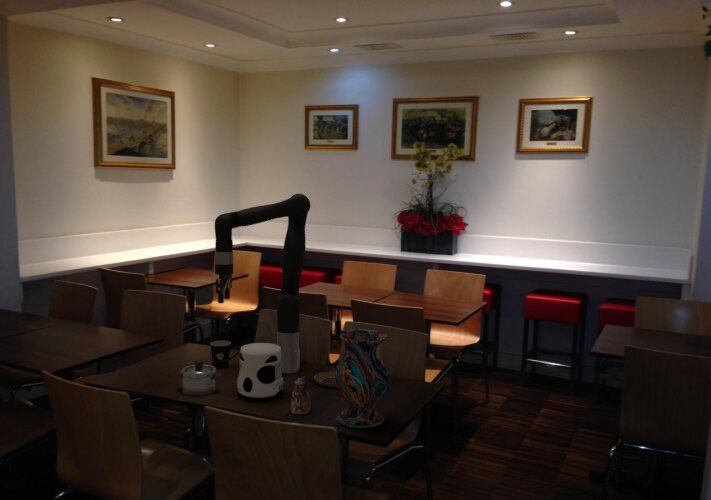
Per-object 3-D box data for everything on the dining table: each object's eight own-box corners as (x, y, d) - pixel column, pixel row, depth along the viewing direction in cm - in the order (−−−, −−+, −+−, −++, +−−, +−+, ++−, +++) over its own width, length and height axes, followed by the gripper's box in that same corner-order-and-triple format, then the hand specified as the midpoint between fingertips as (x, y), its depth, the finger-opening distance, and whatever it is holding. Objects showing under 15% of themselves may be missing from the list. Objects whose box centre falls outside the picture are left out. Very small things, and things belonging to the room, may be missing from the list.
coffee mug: (206, 367, 264) (206, 344, 263) (216, 362, 272) (216, 339, 271) (230, 370, 261) (231, 347, 260) (240, 365, 269) (240, 342, 268)
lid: (214, 369, 240) (214, 358, 239) (205, 376, 231) (205, 365, 231) (192, 368, 241) (192, 357, 241) (182, 375, 232) (182, 363, 232)
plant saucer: (350, 390, 243) (350, 383, 242) (312, 389, 242) (313, 382, 242) (350, 378, 257) (350, 371, 257) (314, 377, 257) (315, 371, 257)
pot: (225, 386, 242) (225, 365, 241) (214, 397, 230) (214, 375, 229) (184, 383, 244) (184, 363, 243) (171, 394, 232) (171, 373, 231)
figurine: (286, 411, 219) (286, 378, 217) (298, 405, 225) (299, 373, 223) (301, 415, 215) (302, 382, 213) (314, 409, 221) (315, 377, 219)
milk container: (233, 388, 239) (233, 343, 237) (277, 384, 246) (277, 340, 243) (241, 404, 223) (241, 356, 221) (288, 400, 229) (289, 352, 227)
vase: (326, 426, 207) (328, 338, 203) (343, 407, 224) (345, 326, 220) (379, 434, 201) (382, 344, 198) (392, 414, 219) (396, 331, 215)
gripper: (227, 265, 247) (227, 305, 249) (237, 260, 261) (237, 298, 263) (209, 264, 248) (209, 304, 250) (220, 259, 262) (220, 297, 264)
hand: (224, 301), depth 257 cm, fingers open, 8 cm apart
